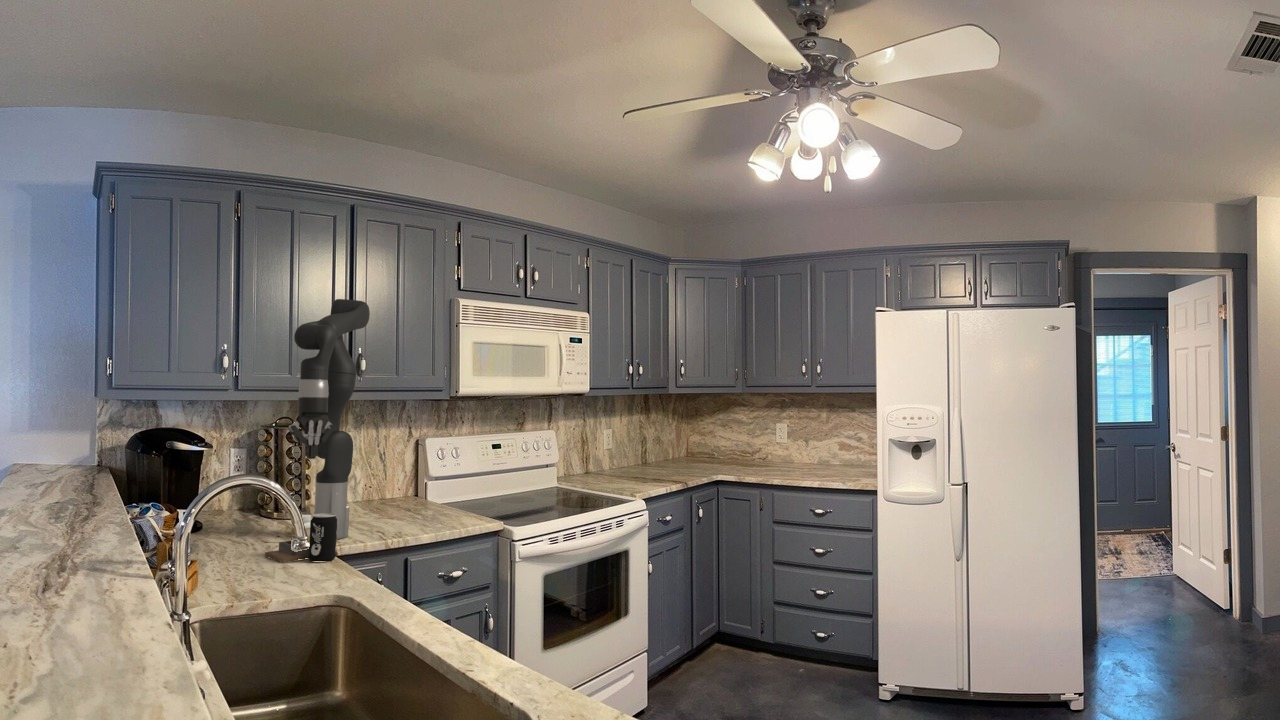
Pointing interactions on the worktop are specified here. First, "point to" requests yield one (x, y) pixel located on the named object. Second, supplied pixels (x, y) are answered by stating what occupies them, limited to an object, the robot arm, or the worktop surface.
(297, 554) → the bottle holder
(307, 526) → the supplement bottle
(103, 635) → the worktop surface
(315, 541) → the beverage can
